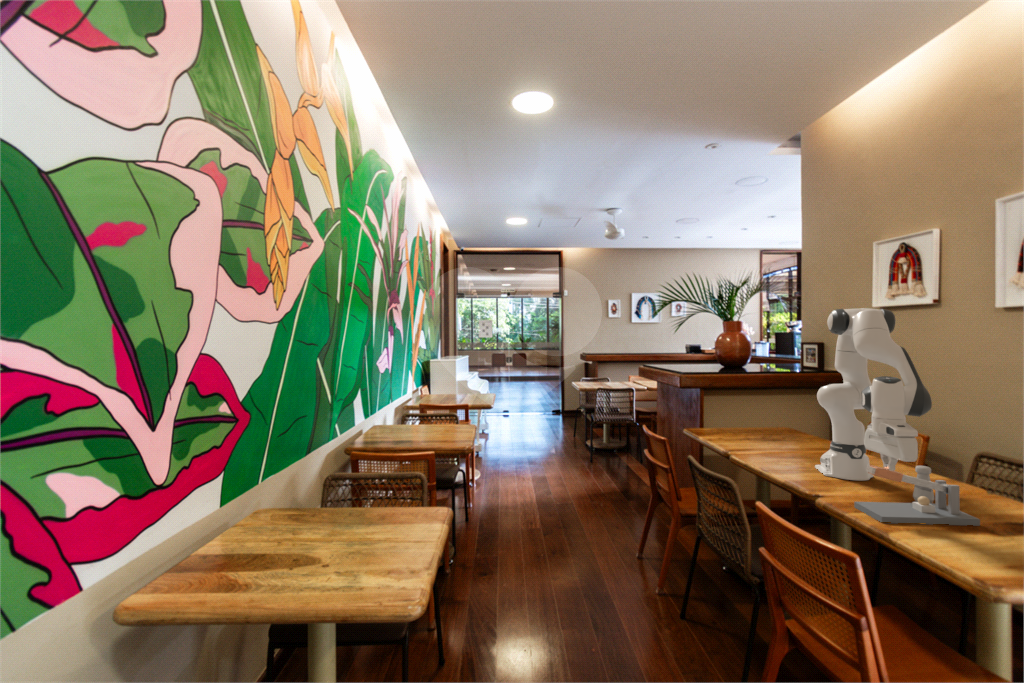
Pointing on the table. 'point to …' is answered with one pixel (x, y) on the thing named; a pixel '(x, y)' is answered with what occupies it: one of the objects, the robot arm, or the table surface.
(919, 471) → the salt shaker
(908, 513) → the base
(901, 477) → the lever
